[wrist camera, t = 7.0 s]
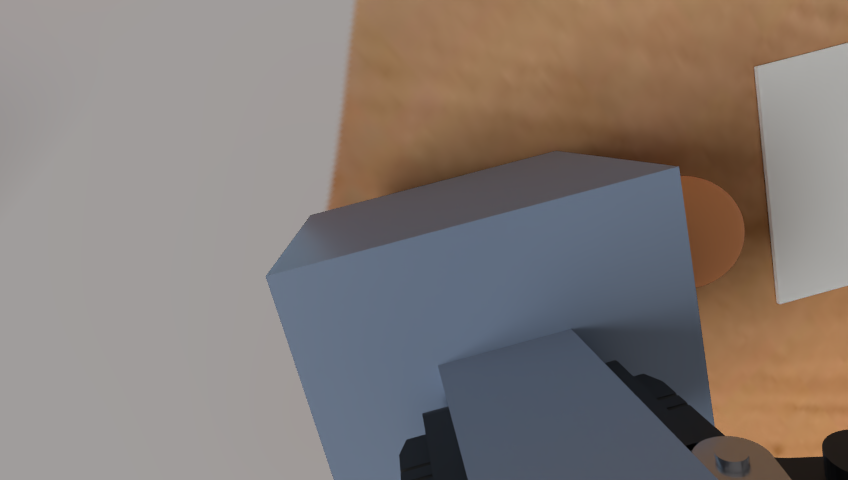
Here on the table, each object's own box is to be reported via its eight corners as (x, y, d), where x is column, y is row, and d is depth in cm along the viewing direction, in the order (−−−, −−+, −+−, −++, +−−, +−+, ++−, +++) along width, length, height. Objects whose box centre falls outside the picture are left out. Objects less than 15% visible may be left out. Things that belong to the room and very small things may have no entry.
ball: (592, 185, 25) (644, 200, 20) (692, 159, 25) (768, 167, 20) (609, 282, 26) (662, 319, 21) (704, 257, 26) (779, 287, 21)
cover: (310, 215, 21) (166, 412, 6) (556, 150, 21) (940, 199, 7) (378, 435, 23) (383, 945, 9) (598, 374, 23) (953, 765, 9)
